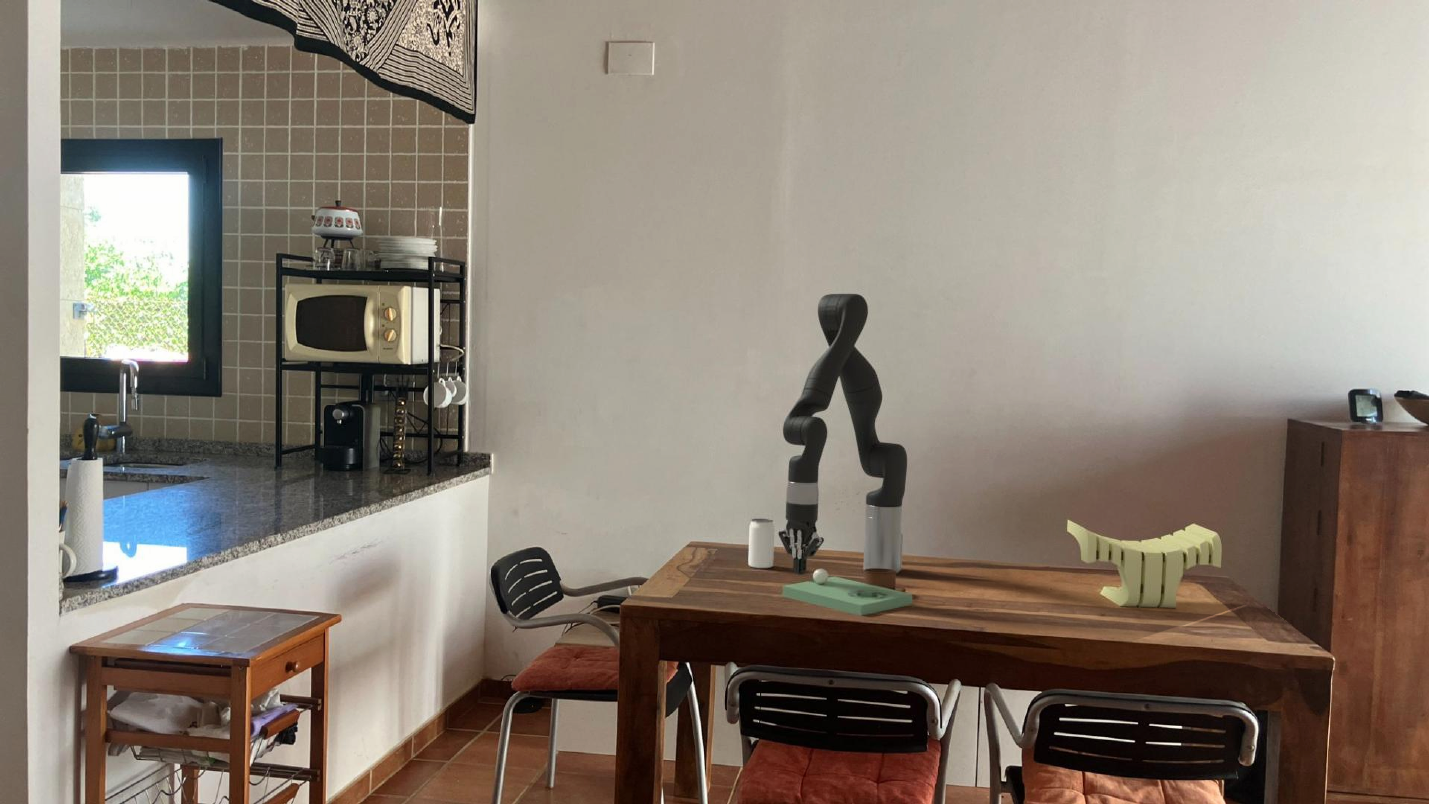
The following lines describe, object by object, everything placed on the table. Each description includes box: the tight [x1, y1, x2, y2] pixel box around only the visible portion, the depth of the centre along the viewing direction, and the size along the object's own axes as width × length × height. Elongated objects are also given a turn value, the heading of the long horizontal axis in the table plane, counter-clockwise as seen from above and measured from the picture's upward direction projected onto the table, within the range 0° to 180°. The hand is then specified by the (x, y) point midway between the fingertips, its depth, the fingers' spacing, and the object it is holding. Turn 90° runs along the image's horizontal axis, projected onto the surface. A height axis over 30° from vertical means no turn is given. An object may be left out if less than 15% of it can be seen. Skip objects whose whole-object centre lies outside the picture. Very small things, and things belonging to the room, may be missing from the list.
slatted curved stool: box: [1066, 519, 1223, 609], centre depth 260 cm, size 30×16×18 cm, turn 89°
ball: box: [812, 568, 829, 584], centre depth 258 cm, size 4×4×4 cm
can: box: [747, 518, 775, 569], centre depth 289 cm, size 6×6×12 cm
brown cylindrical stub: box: [863, 568, 906, 593], centre depth 261 cm, size 12×12×6 cm
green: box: [781, 576, 914, 617], centre depth 252 cm, size 23×18×2 cm
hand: (799, 573), depth 263 cm, fingers closed
